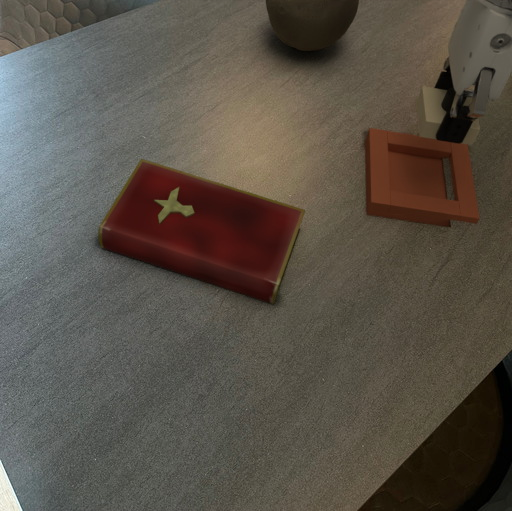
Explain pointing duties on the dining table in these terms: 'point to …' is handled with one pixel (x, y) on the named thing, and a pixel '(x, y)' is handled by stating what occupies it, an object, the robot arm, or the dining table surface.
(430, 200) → the base pad
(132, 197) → the hardcover book
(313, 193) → the dining table surface
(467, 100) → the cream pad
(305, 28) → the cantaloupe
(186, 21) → the dining table surface
